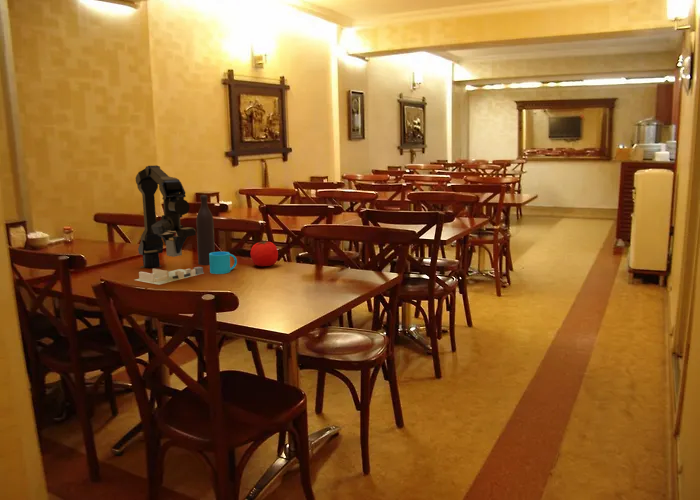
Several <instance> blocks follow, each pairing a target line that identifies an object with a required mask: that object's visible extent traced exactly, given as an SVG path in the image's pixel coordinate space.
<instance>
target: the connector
mask: <svg viewBox="0 0 700 500" xmlns="http://www.w3.org/2000/svg"><path fill="white" fill-rule="evenodd" d="M165 246H166V247H165V248H166V249H165V250H166V253H165V254H166V256H168V257H180V256H182V255H183V250H182V249H183V247H182V248H181V251H180V253H178V254H177V252H176V245H175V240H174V239H173V237H172V238H169V240H166V244H165Z"/></svg>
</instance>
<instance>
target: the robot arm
mask: <svg viewBox="0 0 700 500" xmlns="http://www.w3.org/2000/svg"><path fill="white" fill-rule="evenodd" d="M135 184H136V185H137V189H138V191H139V192H140V193H141V197H142V208H143V222H144V224H143V225H144V230H143V232H142V233H141V236H140V242H139V245H138V248H137V249H138V254H139V255H141V256H142V261H143V262H142V264H143V265H142V266H140V269H142V268H143V269H157V268H159V267H162V265H160V254H162V253H163V250H164V244H165V245H166V240H169V238H172V237H173V239H174V240H175V245H176V252H177V254H178V253H180V251H181V248H182V249H183V246H184V243H185V242H186V240H187V238H189V237H194V236H197V230H196V228H194V227H184V226H183V225H181V218H183V216H184V215H187V214H188V213H189V211H190V204H189V202H188V201H187V200H185V198H186V190H185V188H184V186H183V184H182V182H181V181H180V179H178V178H176V177H173V176H172V177H171V176H170V175H168V174H167V173H166V172H165V171H163V170H162V168H161V166H159V165H147V166H145V168H143V169H142V170H140V171H138V173H137V174H136V176H135ZM157 190H159V191H160V194H161V195H162V200H163V215H161V216H160V220H158V221H157V215H156V214H157V213H156V203H155V202H156V199H155V194H156V193H157Z"/></svg>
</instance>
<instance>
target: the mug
mask: <svg viewBox="0 0 700 500" xmlns="http://www.w3.org/2000/svg"><path fill="white" fill-rule="evenodd" d="M231 257H232V258H233V260H234V261H233V262H234V263H233V265H232V266H231ZM209 262H210V265H209V273H210V274H213V275H224V274H229V273H231V271H232V270H234V268H236V266H237V265H238V259H237V257H236V256H235V255H234V254H232V253H230V251H215V252H212V253H210V254H209Z"/></svg>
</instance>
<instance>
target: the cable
mask: <svg viewBox="0 0 700 500" xmlns="http://www.w3.org/2000/svg"><path fill="white" fill-rule="evenodd" d="M188 276H190V273H188V274H184V277H188ZM176 278H178V275H177V276H173V279H176ZM188 278H189V277H188Z"/></svg>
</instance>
